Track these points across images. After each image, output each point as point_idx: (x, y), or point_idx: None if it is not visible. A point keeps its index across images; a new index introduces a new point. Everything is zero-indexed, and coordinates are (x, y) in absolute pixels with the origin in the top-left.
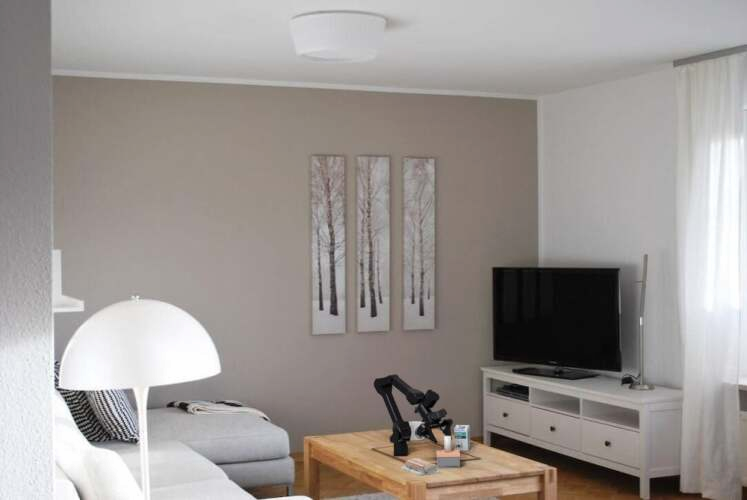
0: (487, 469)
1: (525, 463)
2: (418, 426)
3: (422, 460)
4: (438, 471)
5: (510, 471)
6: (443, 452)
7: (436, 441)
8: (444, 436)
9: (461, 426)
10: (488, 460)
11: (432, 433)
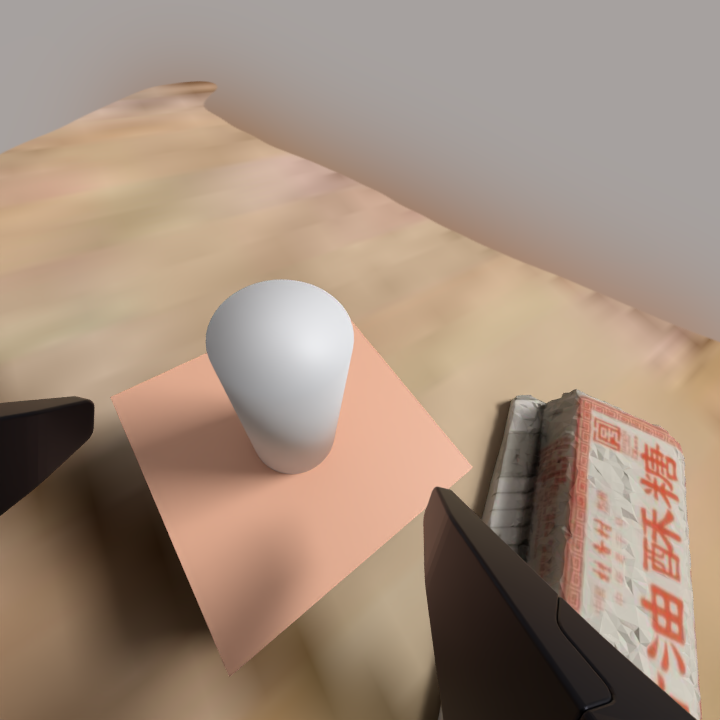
0: (284, 234)
1: (77, 150)
2: None
3: (600, 568)
4: (529, 397)
5: (275, 160)
6: (348, 458)
7: (459, 498)
8: (326, 375)
9: None
10: (21, 305)
11: (573, 658)
